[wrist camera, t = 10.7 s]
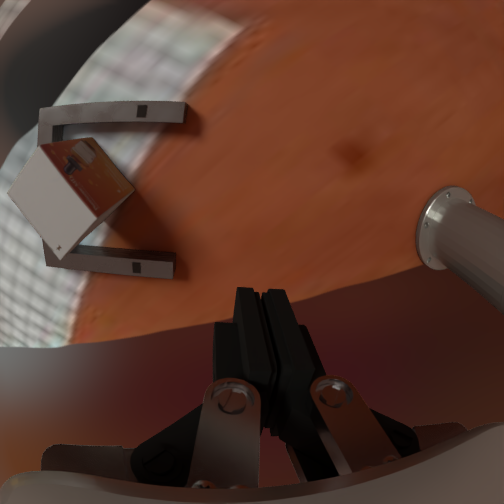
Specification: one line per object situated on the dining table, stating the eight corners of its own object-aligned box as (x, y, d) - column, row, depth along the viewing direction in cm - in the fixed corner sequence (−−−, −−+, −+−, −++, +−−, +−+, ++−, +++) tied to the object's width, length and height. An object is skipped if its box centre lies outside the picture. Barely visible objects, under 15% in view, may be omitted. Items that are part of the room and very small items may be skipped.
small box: (136, 189, 28) (100, 220, 19) (102, 221, 29) (60, 263, 19) (92, 134, 25) (38, 142, 15) (60, 170, 26) (4, 193, 16)
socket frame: (187, 104, 25) (184, 101, 22) (175, 268, 32) (172, 282, 30) (50, 108, 23) (36, 108, 20) (55, 257, 30) (44, 268, 27)
